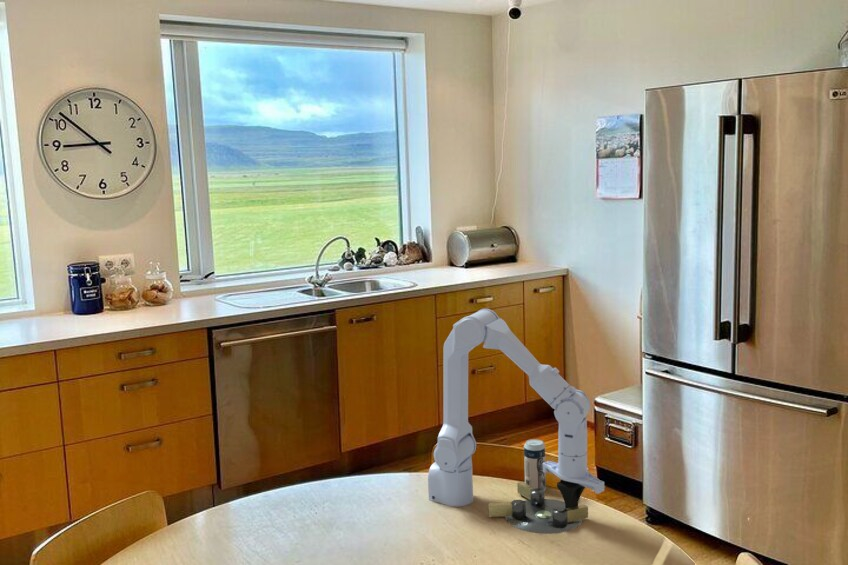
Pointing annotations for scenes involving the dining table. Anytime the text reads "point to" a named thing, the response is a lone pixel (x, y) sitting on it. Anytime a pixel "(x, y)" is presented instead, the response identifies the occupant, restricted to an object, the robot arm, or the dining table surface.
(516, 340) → the robot arm
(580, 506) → the outer lever
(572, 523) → the base plate
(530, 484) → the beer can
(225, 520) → the dining table surface
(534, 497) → the rear lever
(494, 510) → the inner lever
